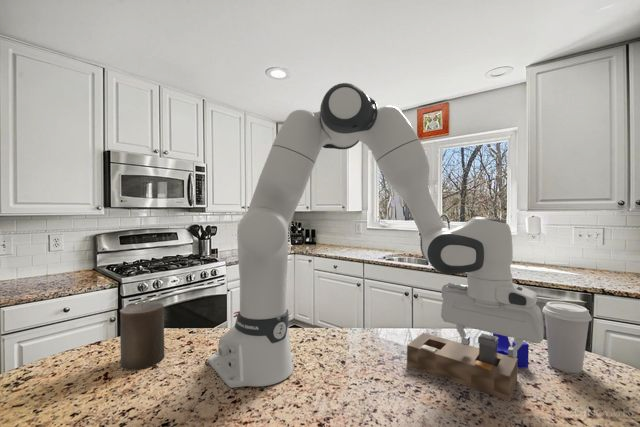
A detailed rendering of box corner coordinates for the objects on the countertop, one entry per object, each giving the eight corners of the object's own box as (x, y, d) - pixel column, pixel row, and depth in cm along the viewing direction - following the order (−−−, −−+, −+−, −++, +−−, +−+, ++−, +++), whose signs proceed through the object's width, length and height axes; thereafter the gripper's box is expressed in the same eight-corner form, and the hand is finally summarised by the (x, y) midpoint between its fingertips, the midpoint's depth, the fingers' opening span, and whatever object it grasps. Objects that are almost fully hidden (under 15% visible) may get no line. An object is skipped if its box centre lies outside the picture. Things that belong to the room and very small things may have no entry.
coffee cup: (533, 362, 78) (534, 303, 78) (553, 354, 83) (554, 298, 82) (578, 381, 70) (579, 315, 70) (598, 371, 74) (599, 309, 74)
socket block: (406, 364, 77) (407, 343, 77) (422, 350, 84) (423, 331, 84) (509, 401, 62) (509, 375, 62) (517, 380, 70) (517, 357, 70)
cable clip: (487, 346, 88) (487, 325, 88) (503, 346, 88) (504, 325, 87) (508, 367, 76) (509, 343, 76) (528, 368, 76) (528, 344, 75)
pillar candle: (168, 362, 78) (168, 302, 78) (122, 374, 72) (122, 310, 72) (159, 348, 85) (159, 294, 85) (117, 359, 79) (117, 301, 79)
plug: (477, 377, 69) (478, 337, 69) (481, 371, 72) (481, 333, 72) (494, 383, 67) (495, 342, 67) (497, 376, 70) (498, 337, 70)
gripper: (437, 284, 73) (436, 341, 74) (542, 301, 60) (541, 371, 60) (446, 279, 78) (445, 333, 79) (545, 294, 65) (544, 359, 65)
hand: (488, 350), depth 69 cm, fingers open, 8 cm apart
